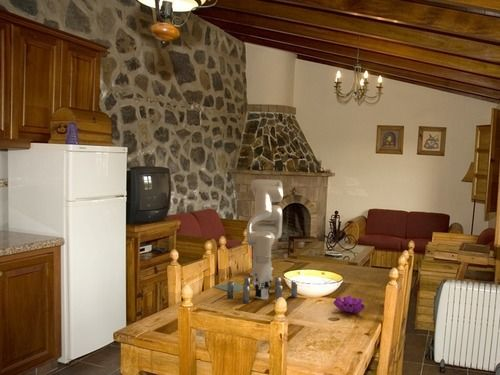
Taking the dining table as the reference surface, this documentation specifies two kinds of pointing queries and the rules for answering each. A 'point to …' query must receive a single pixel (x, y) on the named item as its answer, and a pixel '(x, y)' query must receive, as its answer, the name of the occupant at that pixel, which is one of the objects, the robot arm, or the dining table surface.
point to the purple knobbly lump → (349, 304)
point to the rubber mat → (236, 287)
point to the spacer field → (247, 285)
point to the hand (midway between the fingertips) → (262, 294)
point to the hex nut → (264, 292)
